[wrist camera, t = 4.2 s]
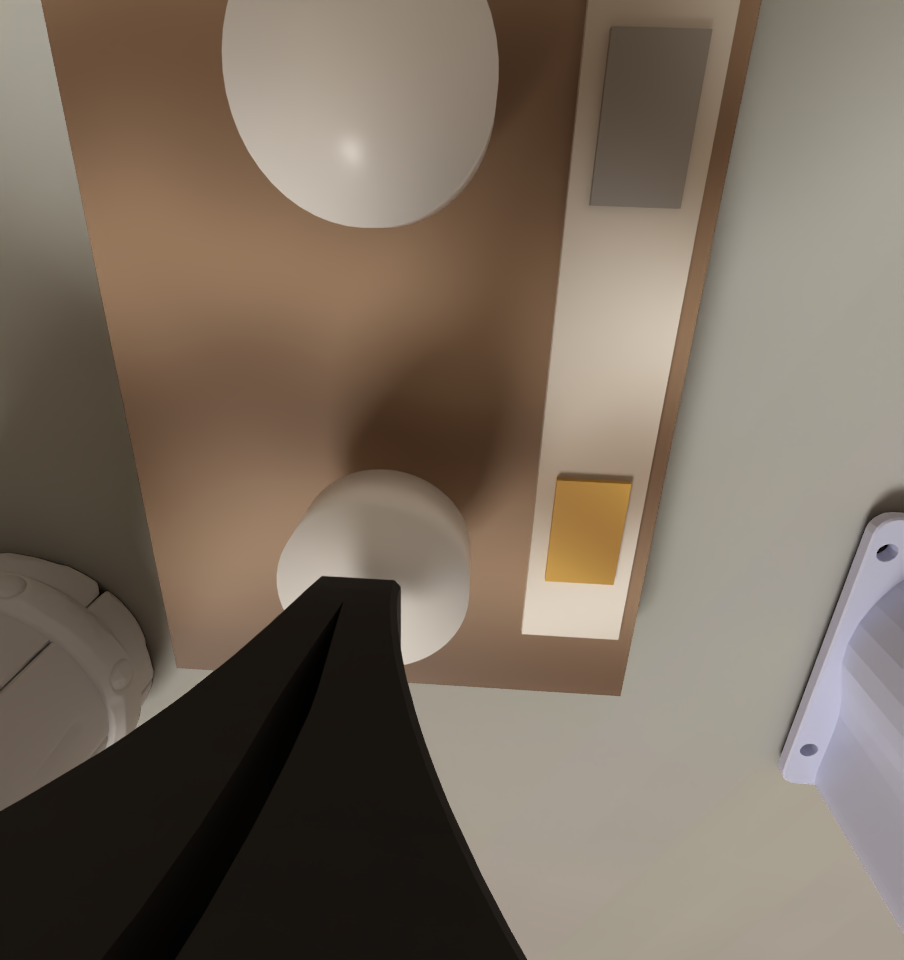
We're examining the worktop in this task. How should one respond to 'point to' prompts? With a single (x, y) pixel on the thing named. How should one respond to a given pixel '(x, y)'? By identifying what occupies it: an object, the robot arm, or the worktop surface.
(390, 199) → the middle button
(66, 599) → the mug
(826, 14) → the worktop surface
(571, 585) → the button board
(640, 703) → the worktop surface
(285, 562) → the button
